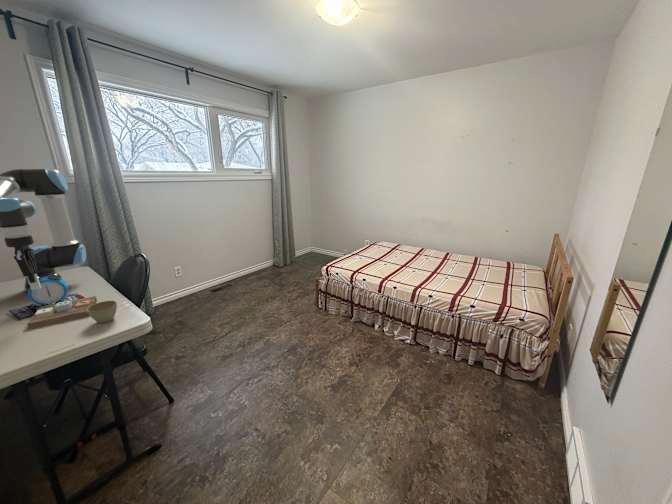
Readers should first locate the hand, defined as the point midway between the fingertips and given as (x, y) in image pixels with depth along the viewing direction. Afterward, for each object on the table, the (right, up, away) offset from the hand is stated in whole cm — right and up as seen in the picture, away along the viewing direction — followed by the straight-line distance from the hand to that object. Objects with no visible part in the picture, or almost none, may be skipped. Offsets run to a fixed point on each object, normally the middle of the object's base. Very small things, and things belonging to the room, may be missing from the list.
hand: (36, 288), depth 117 cm
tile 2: (+11, -11, +11) cm, 19 cm away
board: (+6, -12, +7) cm, 16 cm away
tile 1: (0, -13, +4) cm, 14 cm away
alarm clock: (-11, -10, +17) cm, 23 cm away
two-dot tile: (+6, -10, +7) cm, 14 cm away
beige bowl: (+29, -14, +1) cm, 33 cm away
